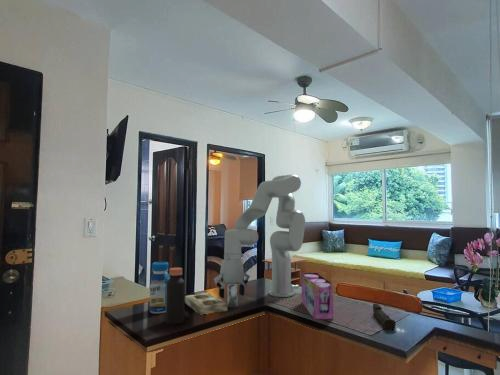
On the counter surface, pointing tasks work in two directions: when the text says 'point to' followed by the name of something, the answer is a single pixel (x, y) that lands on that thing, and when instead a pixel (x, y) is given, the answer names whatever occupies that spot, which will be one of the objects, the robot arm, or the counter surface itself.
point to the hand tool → (383, 317)
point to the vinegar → (175, 297)
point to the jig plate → (205, 303)
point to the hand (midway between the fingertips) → (231, 296)
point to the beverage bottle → (158, 287)
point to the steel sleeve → (232, 295)
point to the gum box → (317, 295)
